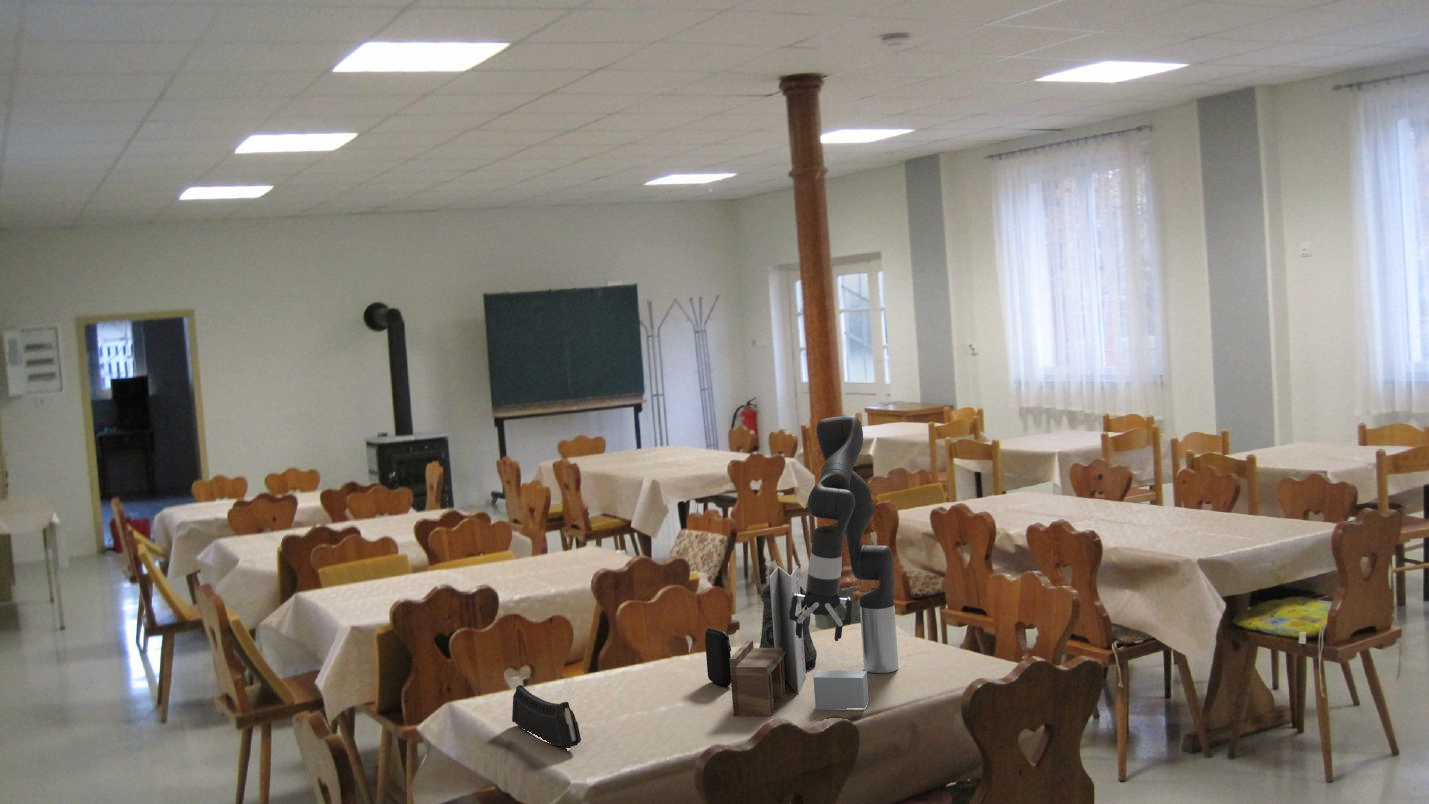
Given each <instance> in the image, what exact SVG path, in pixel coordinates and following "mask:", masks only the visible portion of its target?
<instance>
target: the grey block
mask: <svg viewBox="0 0 1429 804" xmlns="http://www.w3.org/2000/svg"><path fill="white" fill-rule="evenodd" d="M868 684H869V683H868V672H867V671H865V670H817V672H816V673H815V675H814V676H813V691H814V692H813V693H814V705H815V706H814V707H815V708H814V709H815V710H818V711H820V710H821V711H822V710H823V711H826V710H827V711H837V710H836V709H847V708H865V707H866V705H867V703H868V702H869V701H870V700H869V699H870V697H869V685H868ZM869 703H870V702H869ZM867 706H868V705H867ZM866 708H867V707H866Z"/></svg>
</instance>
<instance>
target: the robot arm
mask: <svg viewBox="0 0 1429 804" xmlns="http://www.w3.org/2000/svg"><path fill="white" fill-rule="evenodd" d="M817 422H818V423H817V424H816V438H817V442H818V445H819V448H820V452H821V455H822V457H823V460H824V463H823V465H822V468H821V470H820V471H821V472H820V477H819V480H818V482H817V483H816V484H815V485H814V487H813V488H812V489H811V491H810V493H809V496H808V499H807V509H808V511H809V513H810V515H812V517H814V518H819V519H827V520H836V522H835V523H833V524H830V525H822V526H819V527H816V528H815V529H814V530H813V533H812V538H811V539H812V541H811V551H810V557H809V561H808V568H807V576H806V577H807V580H806V588H805V589H806V590H805V594H804V595H799V594H797V593H796V592H794V593H792V598H791V604H790V610H789V618H790V620H794V621H796V630H795V632H796V636H798V638H801V637H802V627H803V622H802V621H803V620H804V619H805V618H806V617H808V616H809V615H810V616H811V614H813V615H814V616H820V615H821V616H824V617H825V616H826V617H827V616H829V615H830V616H831V617H832V619H833V620H834V621H835V628H834V629H835V630H834V638H833V639H834V641H835V642H838V641H839V640H840V639H842V634H843V627H844V626H845V625H851V623H852V611H853V606H852V605H853V602H852V598H851V596H846V597H840V596H839V595H840V587H841V585H840V584H841V575H842V573H843V571H842V567H843V566H842V563H843V559H842V557H843V545H844V544H843V543H844V540H845V541H846V545H847V553H848V558H849V562H850V563H849V565H850V568H851V571H852V574H853V576H854V578H855V579H857V580H859V581H879V584H878V586H877V587H875V588H874V589H873V590H868V591H866V592H864V593H862V594H861V595H860V596H859V598H858V600H859V615H860V628H861V629H860V630H861V642H862V643H861V644H862V660H863V661H862V662H863V671H867V673H872V674H886V673H887V674H888V673H893V672H895V671H898V670H899V656H898V653H899V652H898V639H897V624H896V623H897V622H896V610H895V584H894V578H895V577H894V574H895V573H894V571H895V569H894V554H893V551H892V549H891V547H890V546H888V545H872V544H871V545H865V544H864V543H863V541H862V537H863V534H864V533H865V530H866V528H867V527H868V525H869V524H870V522H871V520H872V517H873V515H874V513H875V512H874V511H875V510H874V509H875V506H874V505H875V504H874V501H873V498H872V493H871V490H870V489H871V488H870V486H869V485H868V483H867V482H866V481H865V480H864V479H863V478H862V477H861V476H860V475H859V474H857V473H856V472H855V471H854V470H853V469H854V466H855V463H856V462H857V461H858V459H859V455H860V454H861V450H862V448H863V445H864V444H863V443H864V430H863V425H862V422H861V420H860V419H859V417H858V416H856V415H853V414H852V415H851V414H850V415H841V416H834V417H828V418H827V417H826V418H822V419H820V420H819V421H817ZM844 537H845V539H844ZM802 600H804V602H805V604H806V606H805V607H804V608H803V609H802V611H801V612H800V613H799V614H798V615H797V614H795V612H796V606H797V604H799V603H800V602H801V601H802ZM840 604H841V605H842V608H844V617H841V615H840V614H839V613H838V611H837V609H836V608H837V607H838V606H839V605H840ZM807 607H808V608H807Z"/></svg>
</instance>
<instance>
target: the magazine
mask: <svg viewBox="0 0 1429 804" xmlns="http://www.w3.org/2000/svg"><path fill="white" fill-rule="evenodd" d="M569 703H570V702H569V701H563V702H560V703H555V702H550V701H547V700H544V699H542V698H540V697H538V696H537V695H534V694H533V693H531V692H530V691H528V690H527V689H526V688H525V686H524V685H523V684H518V685H517V686H516V687H515V691H514V694H513V696H512V712H511V714H512V715H511V723H514V724H515V725H517V726H518V727H519V728H521V729H522V728H523V729H525V730H526V731H529V732H531V733H532V734H535V735H537V736H538V737H541V738H542V739H543V740H546V741H547V742H549V743H551V744H553V745H552V746H556V745H557V747H560V746H562V748H565V749H566V748H571V747H572V748H573V747H575V746H578V744H580V743H581V742H582V738H581V733H580V727H579V723H578V721H577V719H576V716H575V713H574V711H573V710H572V709H571V708H570V704H569ZM523 729H522V730H523ZM526 731H525V732H526ZM572 748H571V749H572Z"/></svg>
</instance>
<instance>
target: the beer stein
mask: <svg viewBox="0 0 1429 804" xmlns="http://www.w3.org/2000/svg"><path fill="white" fill-rule="evenodd" d="M805 593H806V590H804V588H803V587H802V586H801V585H800V595H804V594H805ZM759 595H760V600H761V601H762V603H763V608H762V611H763V612H762V622H761V623H762V625H761V637H760V643H759V647H758V648H774V635H773V621H772V606H771V592H770V583H769V584H767V586H765V587H764V588H763V589H762V590H761V592H760V594H759ZM805 606H806V604H805V602H804V600H802V601H801V611H802V609H803V608H804V607H805ZM807 608H808V607H807ZM802 622H803V640H804V655H805V669H806V671H808V670H811V669H812V667H813V668H814V667H815V666H816V664H817V663H816V662H817V655H818V653H817V649H816V647H815V645H814V642H813V638H812V636H811V632H810V624H811V623H810V622H811V614H810V615H809V616H808V617H806V618H805V619H804V620H803V621H802Z"/></svg>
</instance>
